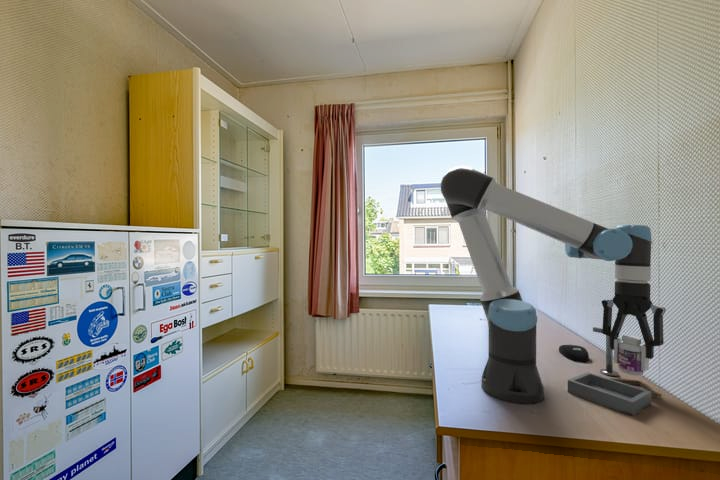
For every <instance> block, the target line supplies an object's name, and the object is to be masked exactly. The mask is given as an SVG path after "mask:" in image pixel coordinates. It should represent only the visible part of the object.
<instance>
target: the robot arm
mask: <svg viewBox="0 0 720 480" xmlns="http://www.w3.org/2000/svg"><path fill="white" fill-rule="evenodd" d="M440 192H441V194H442V197H443V198H444V200H445V203H446V205H447V208H448V212H449V214H450V217H451V219H452V220H453V221H456V222H457V223H458V225H459V228H460V231H461V234H462V236H463V240H464V242H465V245H466V247H467V250H468V253H469V257H470V259H471V262H472V264H473V267H474V271H475V274H476V277H477V278H478V282H479V285H480V288H481V290H482V295H481V297H480V303H481V306H482V308H483V312H484V314H485V317H486V320H487V326H488V327H487V328H488V357H487V362H486V363H485V367H484V369H483V372H482V375H481V388H482V389H483V390H484V391H485V392H486V393H487V394H489V395H490V396H493V397H495V398H497V399H500V400H503V401H506V402H511V403H516V404H536V403H539V402H541V401H543V400H544V397H545V392H544V391H545V388H544V385H543V381H542V378H541V375H540V372H539V369H538V366H537V323H538V316H537V310H536V307H535V306H534V305H532V304H531V303H529V302H525V301H524V300H523V298H522V296H521V293H520V289H518V288H517V287H514V286H513V285H512V284H511V281H510V279H509V276H508V273H507V270H506V267H505V265H504V261H503V259H502V256H501V254H500V251H499V249H498V248H499V247H498V245H497V243H496V239H495V237H494V234H493V232H492V229H491V226H490V223H489V221H488V218H487V215H486V212H487V211H488V212H490V213H493V214H495V215H498V216H501V217H502V218H505V219H507V220H509V221H512V222H514V223H517V224H519V225H521V226H522V227H526V228H528V229H530V230H533V231H535V232H537V233H540V234H542V235H545V236H547V237H549V238H551V239H554V240H556V241H558V242H561V243H562V244H564V249H565V250H564V251H565V254H566V256H567V257H568V258H575V259H594V260H603V261H606V262H613V261H615V262H614V278H615V279H616V280H615V281H614V295H613V296H614V297H612V299H603V300H601V305H602V308H603V311H602V312H603V314H602V315H603V316H602V328H601V329H602V333H601V334H603V335H605V336H606V335H607V336H609V337H610V348H611V349H612V350H613V363H614V364H618V358H619V344H620V343H622V342H623V341H622V338H620V333H621V330H622V329H623V325H624V322H625V320H626V318H627V316H628V315H630V316H633V317H635V319H636V320H637V322H638V325H639V326H638V327H639V328H640V333H641V335H642V339H643V342H644V344H642V345H640V346H641V370H643V371H644V372H645V371H648V370H649V369H650V368H649V367H650V366H649V365H650V360H651V359H653V358H654V357H655V356H654V355H655V353H654V352H655V349H654V348H655V347H661V346H663V345H664V315H665V313H666V312H667V311H666V308H665V307H664V306H663V307H662V306H661V307H660V306H657V305H655V304H653V302H652V300H651V284H650V283H649V282H650V281H651V277H652V276H651V275H652V274H651V273H652V271H651V270H652V269H651V268H652V267H651V265H652V264H651V260H652V259H651V258H652V257H651V255H652V244H653V241H652V233H651V232H652V231H651V228H650V226H648V225H643V224H629V225H628V224H625V225H623V224H621V225H617V226H616V227H615V228H608V227H606V226H604V225H600V224H598V223H595V222H593V221H591V220H588V219H585V218H583V217H582V216H577V215H575V214H574V213H571V212H569V211H566V210H564V209H560V208H558V207H555V206H553V205H551V204H549V203H546V202H544V201H541V200H539V199H536V198H534V197H531V196H529V195H526V194H524V193H521V192H520V191H517V190H514V189H512V188H509V187H507V186H504V185H502V184H498V183H497V181H496V179H495V177H492V176H489V175H487V174H485V173H482V172H481V171H479V170H476V169H475V168H472V167H469V166H464V165H461V166H455V167H453V168H451V169H449V170H448V171H447V172H446V173H445V174H444V175H443V177H442V179H441V181H440ZM614 306H615V307H617V309H618V310H617V314H616V318H615V320H614V323H613V322H612V321H613V307H614ZM650 310H651V313H652V314H653V319H652V320H653V334H652V332H651V328H650V325H649V322H648V316H647V312H648V311H650ZM612 323H613V325H612Z"/></svg>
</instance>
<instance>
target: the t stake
mask: <svg viewBox="0 0 720 480" xmlns="http://www.w3.org/2000/svg"><path fill="white" fill-rule="evenodd" d="M602 329H603V328H600V327H595V326H594V327H592V332H594V333H598V334H603V333H602ZM613 363H614V350H612V349H611V348H610V337H609V336H607V335H605V368H601V369H600V371H599V372H600V373H601V374H602V375H604V376H606V377H607V376H608V377H612V378H617V377H619V372H618V371H616V370H613V369H614V368H613V367H614V366H613Z"/></svg>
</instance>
